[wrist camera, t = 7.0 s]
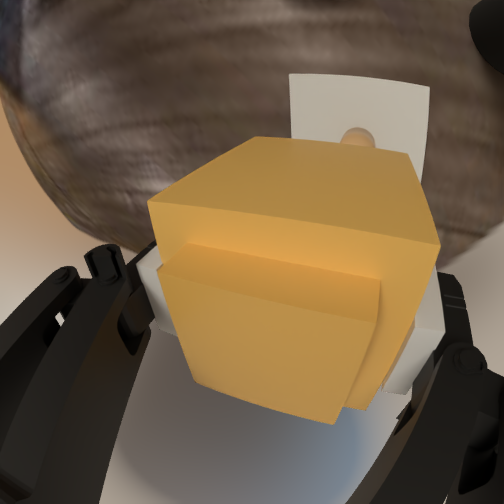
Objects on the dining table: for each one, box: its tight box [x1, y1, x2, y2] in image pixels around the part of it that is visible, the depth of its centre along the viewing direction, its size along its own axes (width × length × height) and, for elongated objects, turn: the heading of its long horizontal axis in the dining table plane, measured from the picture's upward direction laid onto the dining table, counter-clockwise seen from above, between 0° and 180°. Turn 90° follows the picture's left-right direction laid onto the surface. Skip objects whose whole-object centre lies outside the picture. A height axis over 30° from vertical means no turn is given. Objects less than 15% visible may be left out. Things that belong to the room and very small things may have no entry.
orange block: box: [147, 137, 441, 425], centre depth 10 cm, size 6×6×8 cm
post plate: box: [289, 74, 430, 183], centre depth 21 cm, size 12×12×6 cm
